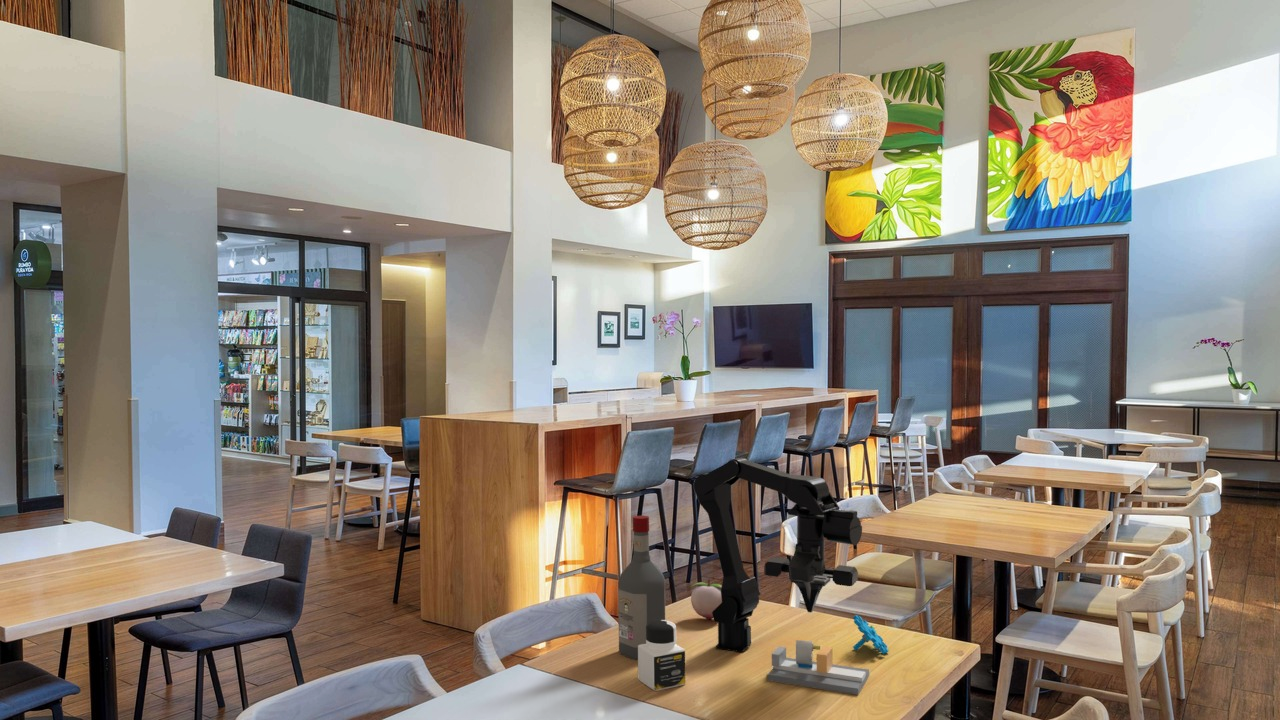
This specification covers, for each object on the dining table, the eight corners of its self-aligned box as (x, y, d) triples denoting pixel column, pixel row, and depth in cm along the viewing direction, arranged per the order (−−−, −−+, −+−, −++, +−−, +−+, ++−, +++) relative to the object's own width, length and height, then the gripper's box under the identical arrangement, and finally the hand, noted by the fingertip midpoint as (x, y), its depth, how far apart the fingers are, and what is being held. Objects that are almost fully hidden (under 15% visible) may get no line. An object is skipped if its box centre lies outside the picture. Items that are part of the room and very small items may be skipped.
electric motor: (820, 673, 167) (819, 647, 167) (795, 671, 168) (795, 646, 168) (820, 661, 173) (820, 636, 173) (797, 659, 174) (796, 635, 174)
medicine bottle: (654, 692, 163) (653, 630, 163) (637, 679, 169) (636, 620, 170) (686, 685, 166) (685, 624, 167) (668, 673, 173) (667, 615, 173)
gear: (888, 653, 178) (854, 616, 182) (868, 671, 179) (834, 634, 183) (893, 644, 188) (861, 609, 192) (874, 661, 189) (842, 626, 193)
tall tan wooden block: (816, 672, 167) (816, 654, 167) (822, 664, 171) (822, 646, 171) (826, 673, 166) (826, 655, 166) (832, 665, 171) (832, 647, 171)
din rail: (767, 680, 168) (767, 658, 168) (782, 662, 178) (782, 642, 178) (858, 694, 160) (858, 671, 160) (869, 675, 170) (868, 653, 170)
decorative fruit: (688, 624, 205) (688, 583, 205) (692, 614, 213) (691, 575, 213) (727, 626, 204) (726, 584, 204) (729, 616, 212) (728, 576, 212)
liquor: (640, 663, 179) (638, 522, 179) (613, 652, 186) (611, 517, 186) (671, 653, 185) (670, 517, 185) (644, 643, 192) (642, 511, 192)
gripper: (755, 540, 174) (755, 615, 174) (846, 551, 165) (845, 630, 165) (772, 530, 184) (772, 601, 184) (858, 539, 175) (858, 614, 175)
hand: (810, 611), depth 177 cm, fingers closed
